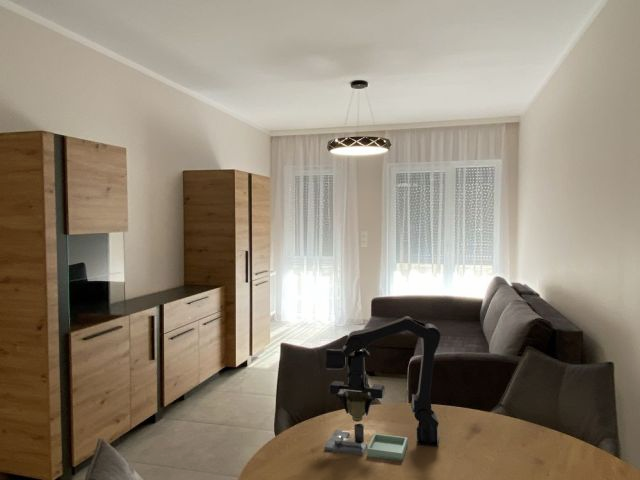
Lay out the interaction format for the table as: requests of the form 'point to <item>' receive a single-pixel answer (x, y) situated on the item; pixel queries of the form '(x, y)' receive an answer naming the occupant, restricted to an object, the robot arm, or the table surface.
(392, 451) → the tray
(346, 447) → the grey l-bracket
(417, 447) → the table surface
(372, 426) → the table surface
